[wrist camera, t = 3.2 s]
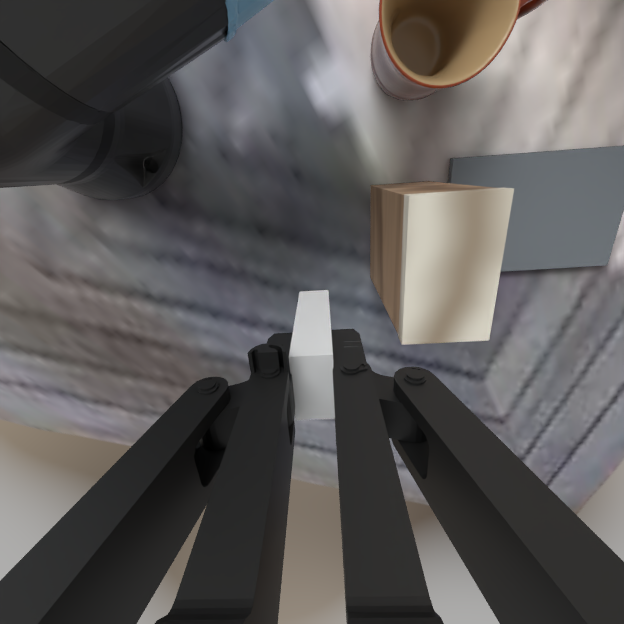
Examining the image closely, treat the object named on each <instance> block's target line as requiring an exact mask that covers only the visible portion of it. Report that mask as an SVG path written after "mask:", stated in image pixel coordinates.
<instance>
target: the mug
mask: <svg viewBox="0 0 624 624" xmlns="http://www.w3.org/2000/svg"><path fill="white" fill-rule="evenodd" d="M546 1H548V0H380V3H379V21H378V23H377V25H376V28H375V31H374V34H373V38H372V44H371V65H372V70H373V74H374V76H375V79H376V81H377V83H378V84H379V86H380V87H381V89H382V90H383V91H384V92H385V93H386V94H387V95H389V96H391V97H393V98H396V99H399V100H418V99H422V98H425V97H427V96H429V95H431V94H432V93H434V92H435V91H437V90H438V89H441V88H449V87H453V86H456V85H459V84H462V83H464V82H466V81H468V80H470V79H471V78H473V77H475V76H476V75H477V74H479V73H480V72H481V71H482V70H484V69H485V68H486V67H487V66H488V65H489V64H490V63H491V62H492V61H493V60H494V58H495V57H496V56H497V55H498V53H499V52H500V51H501V49H502V48H503V46H504V44H505V43H506V41H507V39H508V37H509V36H510V34H511V32H512V30H513V27H514V25H515V23H516V20H517V19H519V18H521V17H522V16H524V15H526V14H528V13H530V12H531V11H533V10H535V9H536V8H538V7H539V6H541V5H542V4H544V3H545V2H546Z"/></svg>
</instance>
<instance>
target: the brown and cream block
mask: <svg viewBox="0 0 624 624" xmlns="http://www.w3.org/2000/svg"><path fill="white" fill-rule="evenodd" d="M513 193H514V188H493V187H482V186H472V185H462V184H452V183H441V182H431V181H426V182H412V183H398V184H384V185H371V228H370V277H371V279H372V281H373V283H374V286H375V288H376V290H377V292H378V294H379V296H380V298H381V300H382V302H383V304H384V306H385V308H386V310H387V312H388V314H389V317H390V319H391V321H392V323H393V325H394V327H395V329H396V331H397V333H398V337H399V339H400V341H401V344H402V345H407V344H427V343H447V342H467V341H488V340H489V338H490V332H491V325H492V319H493V313H494V307H495V301H496V295H497V289H498V283H499V277H500V271H501V265H502V259H503V253H504V247H505V241H506V235H507V229H508V223H509V217H510V211H511V205H512V199H513Z"/></svg>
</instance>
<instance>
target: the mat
mask: <svg viewBox="0 0 624 624" xmlns="http://www.w3.org/2000/svg"><path fill="white" fill-rule="evenodd" d="M448 183H452V184H462V185H472V186H482V187H493V188H514V193H513V199H512V205H511V211H510V217H509V223H508V229H507V235H506V241H505V247H504V253H503V259H502V265H501V271H519V270H536V269H553V268H570V267H587V266H604V265H607V264H608V261H609V257H610V254H611V251H612V247H613V244H614V241H615V237H616V234H617V231H618V227H619V224H620V221H621V217H622V214H623V210H624V146H612V147H599V148H586V149H572V150H559V151H545V152H532V153H518V154H505V155H491V156H478V157H465V158H451V159H450V168H449V179H448ZM501 271H500V272H501Z"/></svg>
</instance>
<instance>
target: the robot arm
mask: <svg viewBox="0 0 624 624" xmlns="http://www.w3.org/2000/svg"><path fill="white" fill-rule="evenodd" d="M272 1H273V0H0V188H4V187H20V186H36V185H52V184H57V185H59V186H62V187H65V188H67V189H70V190H72V191H75V192H78V193H80V194H83V195H86V196H89V197H93V198H98V199H105V200H120V199H128V198H134V197H138V196H142V195H144V194H147V193H149V192H151V191H152V190H154V189H155V188H157V187H158V186H159V185H160V184H162V183H163V182H164V180H165V179H166V178H167V177H168V176H169V174H170V173H171V171H172V169H173V167H174V166H175V163H176V161H177V158H178V155H179V151H180V146H181V139H182V123H181V115H180V109H179V105H178V101H177V98H176V95H175V92H174V90H173V87H172V85H171V83H170V81H169V79H168V77H169V76H170V75H172V74H173V73H175V72H176V71H178V70H179V69H181V68H182V67H184V66H185V65H187V64H188V63H190V62H191V61H193V60H194V59H196V58H197V57H199V56H200V55H201V54H203V53H204V52H206V51H207V50H209V49H210V48H212V47H213V46H215V45H216V44H218V43H219V42H221V41H222V40H224V41H226V42H228V41H229V40H231V39H232V38H233V37H234V35H235V34H236V29H237V28H239V27H240V26H241V25H243V24H244V23H245V22H246V21H248V20H249V19H250V18H252V17H253V16H254V15H255V14H257V13H258V12H259V11H261V10H262V9H263V8H265V7H266V6H267V5H268V4H270V3H271V2H272ZM248 358H249V364H250V370H251V376H250V379H249V380H248V381H245V382H243V383H239V384H235V385H231V386H228V382H227V381H226V380H225V379H224V378H221V377H208V378H204V379H202V380H200V381H197V382H196V383H194V384H193V385H192V386H191V387H190V388H189V389H188V390H187V391H186V392H185V393H184V394H183V395H182V396H181V397H180V398H179V399H178V400H177V401H176V402H175V403H174V404H173V405H172V406H171V407H170V408H169V409H168V410H167V411H166V412H165V413H164V414H163V415H162V416H161V417H160V418H159V419H158V420H157V421H156V422H155V423H154V424H153V425H152V426H151V427H150V428H149V429H148V430H147V431H146V433H145V434H144V435H143V436H142V437H141V438H140V439H139V440H138V441H137V442H136V443H135V444H134V445H133V446H132V447H131V448H130V449H129V450H128V451H127V452H126V453H125V454H124V455H123V456H122V457H121V458H120V459H119V460H118V461H117V462H116V463H115V464H114V465H113V466H112V467H111V468H110V469H109V470H108V471H107V472H106V473H105V474H104V475H103V476H102V478H100V479H99V481H98V482H97V483H96V484H95V485H94V486H93V487H92V488H91V489H90V490H89V491H88V492H87V493H86V494H85V495H84V496H83V497H82V498H81V499H80V500H79V501H78V502H77V503H76V504H75V505H74V506H73V507H72V508H71V509H70V510H69V511H68V512H67V513H66V514H65V515H64V516H63V517H62V518H61V519H60V520H59V521H58V522H57V523H56V525H55V526H53V528H52V529H51V530H50V531H49V532H48V533H47V534H46V535H45V536H44V537H43V538H42V539H41V540H40V541H39V542H38V543H37V544H36V545H35V546H34V547H33V548H32V549H31V550H30V551H29V552H28V553H27V554H26V555H25V556H24V557H23V558H22V559H21V560H20V561H19V562H18V563H17V564H16V565H15V566H14V567H13V568H12V569H11V570H10V571H9V572H8V573H7V574H6V576H5V577H4V578H3V579H2V580H1V581H0V624H137V622H138V620H139V618H140V617H141V615H142V613H143V612H144V610H145V608H146V607H147V605H148V603H149V602H150V600H151V598H152V596H153V595H154V593H155V591H156V590H157V588H158V586H159V585H160V583H161V581H162V579H163V578H164V576H165V574H166V573H167V571H168V569H169V568H170V566H171V564H172V563H173V561H174V559H175V557H176V556H177V554H178V552H179V551H180V549H181V547H182V545H183V544H184V542H185V540H186V539H187V537H188V535H189V534H190V532H191V530H192V528H193V527H194V525H195V523H196V522H197V520H198V519H199V517H200V515H201V513H202V512H203V510H204V508H205V506H206V505H207V506H206V509H205V513H204V515H203V518H202V522H201V524H200V527H199V530H198V533H197V536H196V539H195V542H194V545H193V548H192V551H191V554H190V557H189V560H188V563H187V566H186V569H185V572H184V575H183V578H182V581H181V584H180V587H179V590H178V593H177V596H176V599H175V601H174V604H173V606H172V609H171V610H170V612H169V613H168V615H166V616H164V617H163V618H161V619H159V620H157V621H156V623H155V624H278V613H279V602H280V592H281V580H282V570H283V569H282V568H283V559H284V548H285V537H286V526H287V514H288V503H289V493H290V481H291V471H292V460H293V449H294V438H295V425H294V414H295V419H296V420H322V419H335V427H336V446H337V462H338V479H339V495H340V496H339V497H340V513H341V530H342V549H343V566H344V582H345V600H346V618H347V624H444V623H443V621H442V619H441V617H440V616H439V615H438V614H437V613H436V612H435V611H434V609H433V606H432V604H431V600H430V597H429V593H428V589H427V586H426V581H425V577H424V574H423V570H422V566H421V562H420V558H419V554H418V550H417V546H416V542H415V538H414V534H413V531H412V527H411V523H410V519H409V515H408V511H407V507H406V503H405V499H404V495H403V491H402V487H401V484H400V480H399V476H398V472H397V468H396V464H395V460H394V456H393V452H392V448H391V445H390V441H389V438H392V442H393V445H394V446H395V448H396V450H397V451H398V453H399V455H400V456H401V458H402V460H403V461H404V463H405V465H406V467H407V468H408V470H409V472H410V473H411V475H412V477H413V478H414V480H415V482H416V483H417V485H418V487H419V488H420V490H421V492H422V493H423V495H424V497H425V498H426V500H427V502H428V503H429V505H430V507H431V509H432V510H433V512H434V514H435V515H436V517H437V519H438V520H439V522H440V524H441V525H442V527H443V529H444V530H445V532H446V534H447V535H448V537H449V539H450V540H451V542H452V544H453V545H454V547H455V549H456V550H457V552H458V554H459V556H460V557H461V559H462V560H463V562H464V564H465V566H466V567H467V569H468V571H469V572H470V574H471V576H472V577H473V579H474V581H475V582H476V584H477V586H478V587H479V589H480V591H481V593H482V594H483V596H484V597H485V599H486V601H487V603H488V604H489V606H490V608H491V609H492V611H493V613H494V614H495V616H496V618H497V619H498V621H499V623H500V624H624V562H623V561H622V560H621V559H620V558H619V557H618V556H617V555H616V554H615V553H614V552H613V551H612V550H611V549H610V548H609V547H608V546H607V545H606V544H605V543H604V542H603V541H602V540H601V539H600V538H599V537H598V536H597V535H596V534H595V533H594V532H593V531H592V530H591V529H590V528H589V527H588V526H587V525H586V524H585V523H584V522H583V521H582V520H581V519H580V518H579V517H578V516H577V515H576V514H575V513H574V512H573V511H572V510H571V509H570V508H569V507H568V506H567V505H566V504H565V503H563V502H562V501H561V500H560V499H559V498H558V497H557V496H556V495H555V494H554V493H553V492H552V491H551V490H550V489H549V488H548V487H547V486H546V485H545V484H544V483H543V482H542V481H541V480H540V479H539V478H538V477H537V476H536V475H535V474H534V473H533V472H532V471H531V470H530V469H529V468H528V467H527V466H526V465H525V464H524V463H523V462H522V461H521V460H520V459H519V458H518V457H517V456H516V455H515V454H514V453H513V452H512V451H511V450H510V449H509V448H508V447H507V446H506V445H505V444H504V443H503V442H502V441H501V440H500V439H499V438H498V437H497V436H496V435H495V434H494V433H493V432H492V431H491V430H490V429H488V428H487V427H486V426H485V425H484V424H483V423H482V422H481V421H480V420H479V419H478V418H477V417H476V416H475V415H474V414H473V413H472V412H471V411H470V410H469V409H468V408H467V407H466V406H465V405H464V404H463V403H462V402H461V401H460V400H459V399H458V398H457V397H456V396H455V395H454V394H453V393H452V392H451V391H450V390H449V389H448V388H447V387H446V386H445V385H444V384H443V383H442V382H441V381H440V380H439V379H438V378H437V377H436V376H435V375H434V374H432V373H431V372H429V371H428V370H425V369H422V368H419V367H405V368H402V369H399V370H398V371H397V372H395V375H394V377H388V376H383V375H379V374H377V373H375V372H373V371H372V370H371V367H370V366H369V364H367V363H366V359H365V355H364V351H363V347H362V343H361V339H360V334H359V333H358V332H357V331H355V330H354V329H340V330H331V321H330V307H329V293H328V290H318V291H300V292H299V298H298V304H297V310H296V316H295V322H294V328H293V333H278V334H273V335H272V336H271V337H270V338H269V339H268V341H267V344H261V345H258V346H256V347H254V348H252V349H251V350H250V351H249V352H248Z"/></svg>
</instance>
